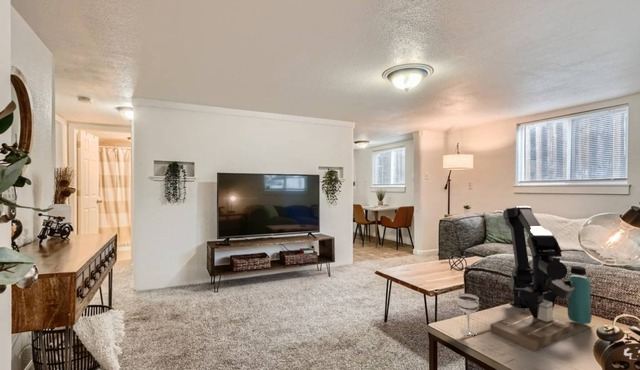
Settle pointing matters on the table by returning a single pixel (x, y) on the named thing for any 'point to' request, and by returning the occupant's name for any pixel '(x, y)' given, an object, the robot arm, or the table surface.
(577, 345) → the table surface
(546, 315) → the fader knob
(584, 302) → the beverage bottle
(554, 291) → the robot arm
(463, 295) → the wineglass
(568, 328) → the brown wooden board
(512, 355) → the table surface
